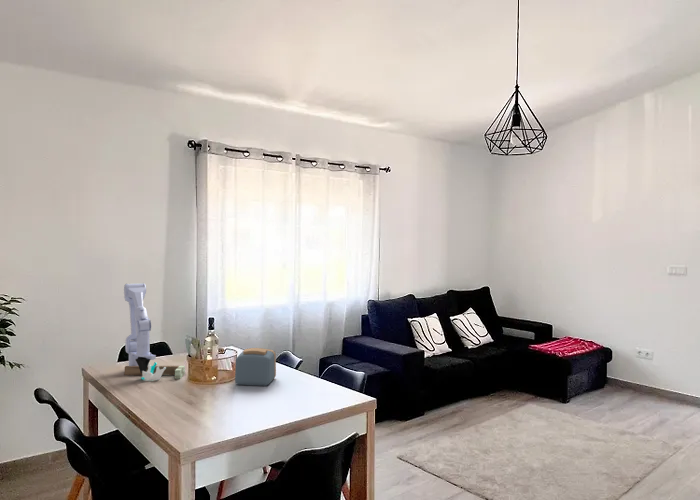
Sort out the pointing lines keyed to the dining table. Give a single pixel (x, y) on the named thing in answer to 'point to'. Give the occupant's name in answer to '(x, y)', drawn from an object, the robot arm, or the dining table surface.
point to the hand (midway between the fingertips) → (143, 372)
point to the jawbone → (150, 375)
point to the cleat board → (169, 370)
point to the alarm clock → (255, 367)
